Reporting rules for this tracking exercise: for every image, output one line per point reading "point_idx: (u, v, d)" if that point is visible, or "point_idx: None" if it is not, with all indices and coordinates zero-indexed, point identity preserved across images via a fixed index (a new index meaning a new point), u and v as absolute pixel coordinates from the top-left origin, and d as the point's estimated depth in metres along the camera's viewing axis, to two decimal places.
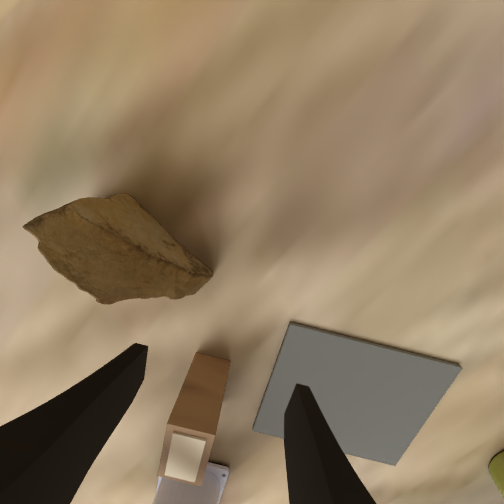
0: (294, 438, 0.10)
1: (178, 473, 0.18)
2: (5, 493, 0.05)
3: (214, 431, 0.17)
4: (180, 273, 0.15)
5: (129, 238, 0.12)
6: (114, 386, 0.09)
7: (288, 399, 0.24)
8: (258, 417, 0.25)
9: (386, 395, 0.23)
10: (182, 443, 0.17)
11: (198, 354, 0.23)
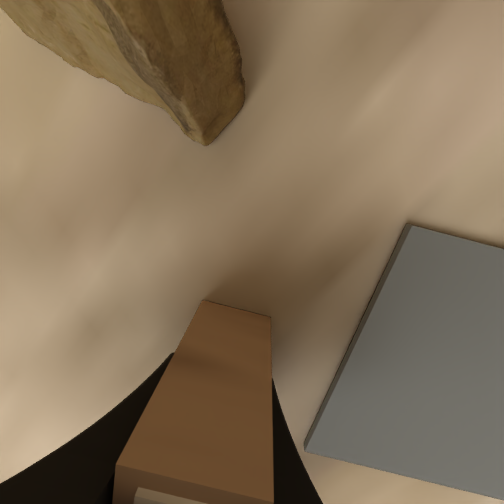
0: None
1: None
2: None
3: (268, 487, 0.05)
4: None
5: None
6: None
7: (381, 393, 0.12)
8: (318, 427, 0.13)
9: None
10: None
11: (207, 303, 0.12)
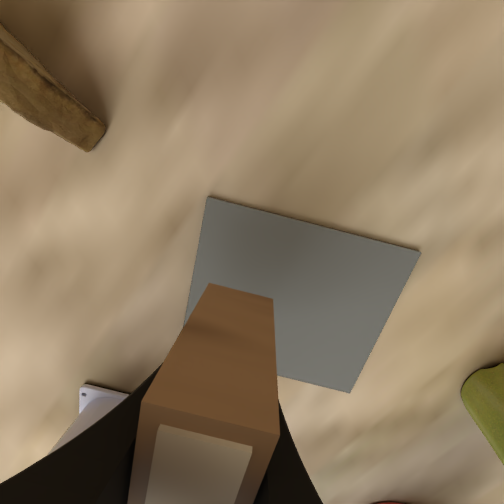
0: None
1: None
2: None
3: (274, 424, 0.06)
4: (14, 61, 0.11)
5: None
6: None
7: None
8: None
9: (332, 295, 0.19)
10: (185, 459, 0.06)
11: (213, 285, 0.12)
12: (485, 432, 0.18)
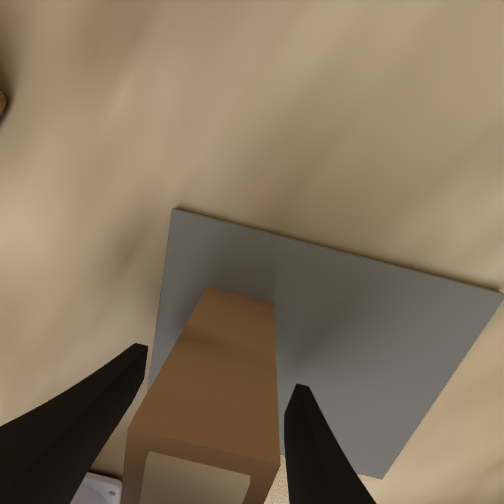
0: (294, 438, 0.10)
1: None
2: (5, 493, 0.05)
3: (275, 451, 0.05)
4: None
5: None
6: (114, 386, 0.09)
7: None
8: None
9: (363, 354, 0.12)
10: (177, 488, 0.06)
11: (211, 289, 0.12)
12: None
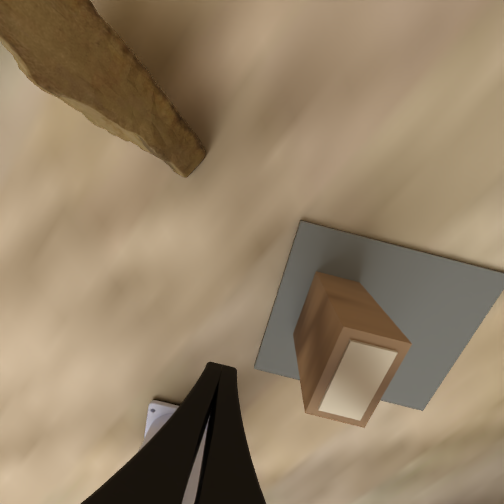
0: (211, 418, 0.10)
1: (340, 407, 0.13)
2: None
3: (407, 340, 0.12)
4: (159, 100, 0.11)
5: None
6: (208, 410, 0.09)
7: None
8: (261, 350, 0.21)
9: (416, 316, 0.19)
10: (360, 357, 0.12)
11: (320, 273, 0.18)
12: None
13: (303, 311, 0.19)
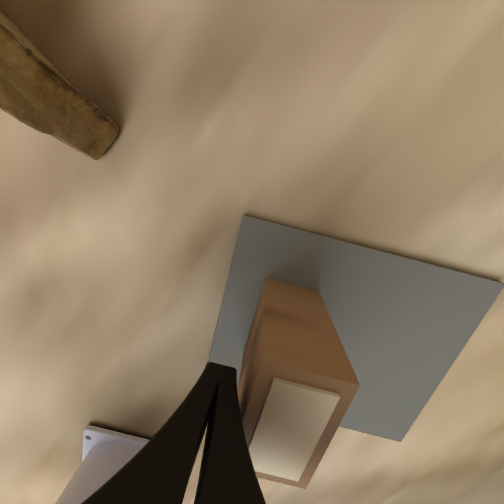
0: (210, 417, 0.10)
1: (269, 464, 0.10)
2: None
3: (354, 378, 0.08)
4: None
5: None
6: (208, 410, 0.09)
7: None
8: None
9: (389, 333, 0.15)
10: (289, 402, 0.08)
11: (269, 279, 0.15)
12: None
13: (251, 326, 0.15)
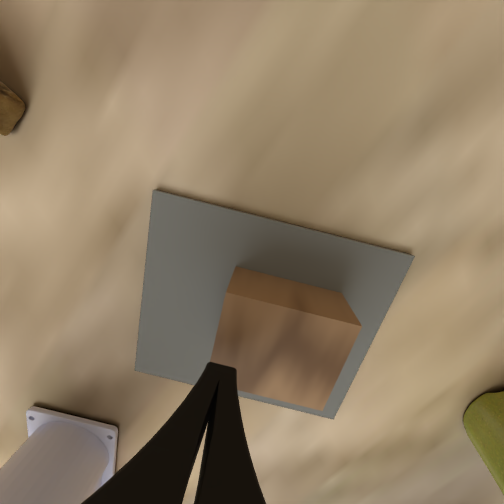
0: (210, 417, 0.10)
1: None
2: None
3: (338, 292, 0.15)
4: None
5: None
6: (208, 410, 0.09)
7: (173, 319, 0.17)
8: (138, 349, 0.18)
9: None
10: None
11: (230, 290, 0.12)
12: (492, 471, 0.15)
13: (223, 348, 0.13)
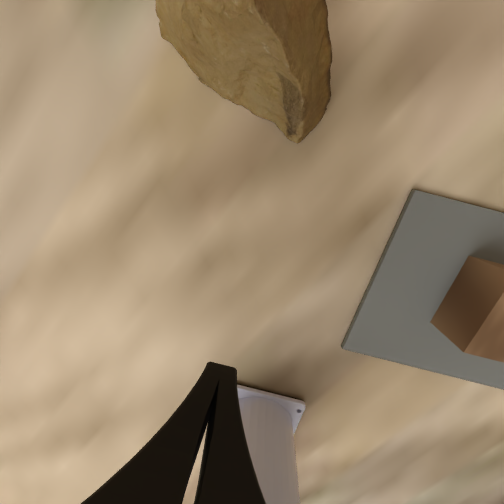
0: (210, 417, 0.10)
1: None
2: None
3: None
4: (324, 44, 0.11)
5: None
6: (208, 410, 0.09)
7: (395, 302, 0.19)
8: (352, 329, 0.20)
9: None
10: None
11: None
12: None
13: (492, 322, 0.15)
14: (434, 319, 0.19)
